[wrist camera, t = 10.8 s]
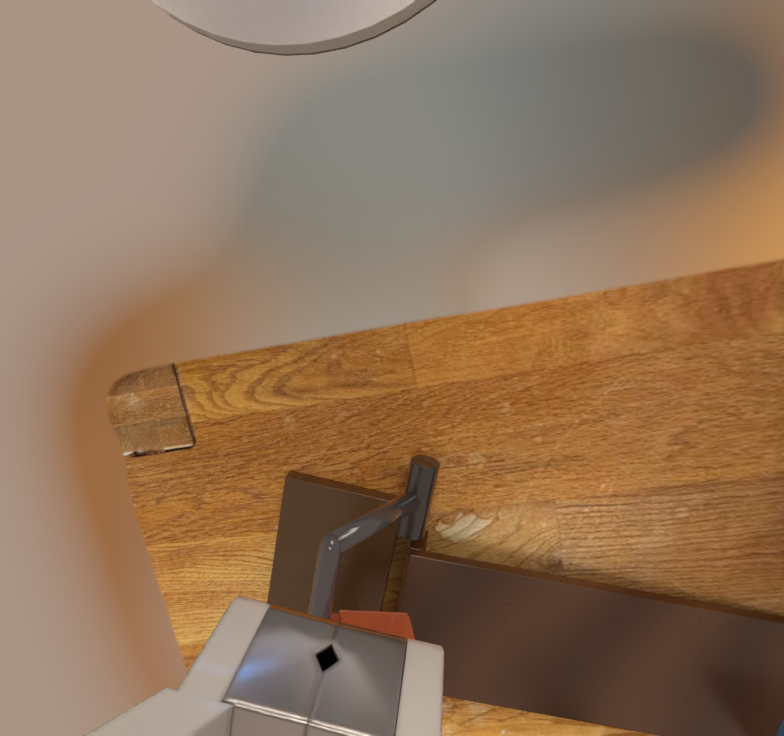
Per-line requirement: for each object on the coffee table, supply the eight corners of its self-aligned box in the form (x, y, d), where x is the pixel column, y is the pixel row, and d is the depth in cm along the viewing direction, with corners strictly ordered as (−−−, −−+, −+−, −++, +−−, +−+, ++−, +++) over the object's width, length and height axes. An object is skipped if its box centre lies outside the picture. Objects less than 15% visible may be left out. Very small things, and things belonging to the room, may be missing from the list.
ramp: (815, 622, 33) (852, 661, 30) (760, 744, 36) (788, 793, 33) (413, 526, 35) (408, 554, 32) (387, 648, 38) (380, 685, 35)
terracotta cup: (282, 826, 26) (423, 821, 27) (330, 550, 22) (492, 561, 23) (289, 653, 36) (392, 656, 37) (323, 444, 32) (436, 456, 33)
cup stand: (265, 640, 39) (198, 772, 29) (290, 470, 36) (224, 555, 26) (369, 667, 39) (336, 812, 29) (404, 497, 35) (382, 595, 25)
